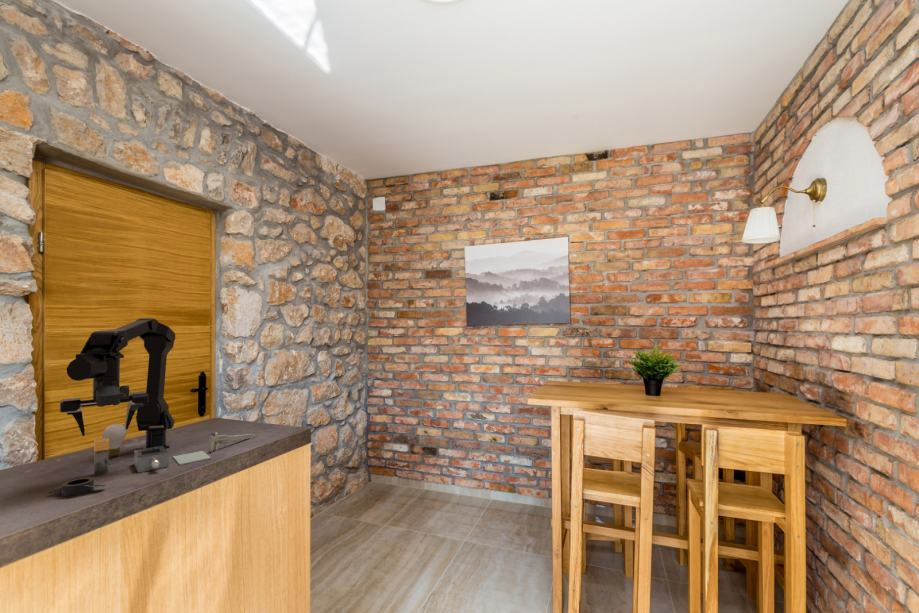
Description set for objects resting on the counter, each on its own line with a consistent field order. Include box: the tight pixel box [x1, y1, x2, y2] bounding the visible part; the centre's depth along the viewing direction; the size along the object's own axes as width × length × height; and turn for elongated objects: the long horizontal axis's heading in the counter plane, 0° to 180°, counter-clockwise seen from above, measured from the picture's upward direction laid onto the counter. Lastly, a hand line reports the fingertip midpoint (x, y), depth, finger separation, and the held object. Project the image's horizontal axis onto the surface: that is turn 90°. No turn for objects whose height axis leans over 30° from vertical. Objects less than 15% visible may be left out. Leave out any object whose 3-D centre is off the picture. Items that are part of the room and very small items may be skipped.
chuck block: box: [133, 446, 170, 473], centre depth 122 cm, size 14×7×4 cm, turn 43°
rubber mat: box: [172, 450, 212, 466], centre depth 129 cm, size 10×8×1 cm
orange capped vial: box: [93, 438, 109, 476], centre depth 117 cm, size 3×3×9 cm
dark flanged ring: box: [48, 477, 107, 499], centre depth 104 cm, size 8×10×3 cm
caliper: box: [208, 432, 257, 453], centre depth 145 cm, size 20×1×6 cm, turn 166°
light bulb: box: [101, 423, 127, 458], centre depth 132 cm, size 6×6×10 cm
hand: (105, 432), depth 118 cm, fingers open, 9 cm apart
